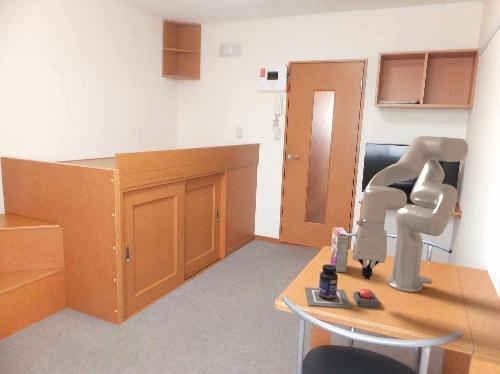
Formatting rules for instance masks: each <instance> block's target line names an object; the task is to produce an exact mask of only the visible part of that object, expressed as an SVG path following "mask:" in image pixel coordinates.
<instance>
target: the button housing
mask: <svg viewBox="0 0 500 374" xmlns="http://www.w3.org/2000/svg"><path fill="white" fill-rule="evenodd" d="M352 298H353V300H354V302H355V304H356V307H360V308H361V307H362V308H379V307H380V306H379V305H380V304H379V298H377V296H376V294H375V292H372V299H363V298H361V297H360V291H358V290H356V291H353V295H352Z"/></svg>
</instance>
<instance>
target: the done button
mask: <svg viewBox="0 0 500 374" xmlns="http://www.w3.org/2000/svg"><path fill="white" fill-rule="evenodd" d="M372 293H373V291H372V290H370V289H368V288H361V289H360V297H361V298H363V299H372Z"/></svg>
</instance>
